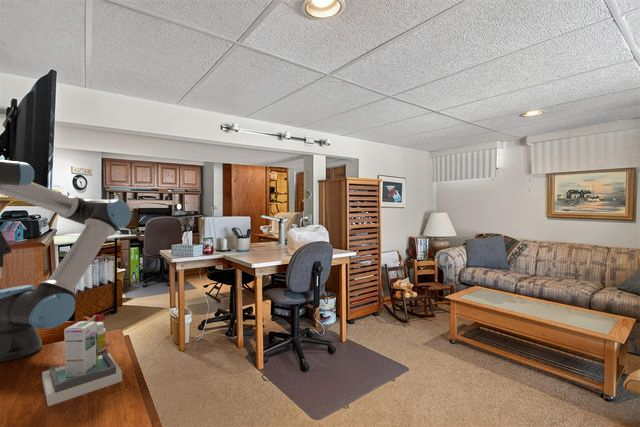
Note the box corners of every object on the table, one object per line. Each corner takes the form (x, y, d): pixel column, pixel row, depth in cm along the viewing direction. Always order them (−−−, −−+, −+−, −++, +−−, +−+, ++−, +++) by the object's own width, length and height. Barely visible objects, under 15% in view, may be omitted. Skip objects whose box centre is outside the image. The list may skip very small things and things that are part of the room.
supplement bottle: (92, 355, 111) (91, 327, 111) (85, 351, 114) (84, 324, 114) (108, 349, 116) (108, 323, 115) (101, 345, 119) (101, 319, 118)
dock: (42, 381, 95) (42, 365, 94) (109, 361, 107) (109, 347, 106) (47, 406, 83) (47, 387, 83) (122, 381, 95) (121, 364, 95)
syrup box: (85, 377, 91) (84, 328, 91) (64, 377, 91) (63, 328, 91) (98, 367, 97) (98, 320, 97) (78, 367, 97) (78, 320, 96)
